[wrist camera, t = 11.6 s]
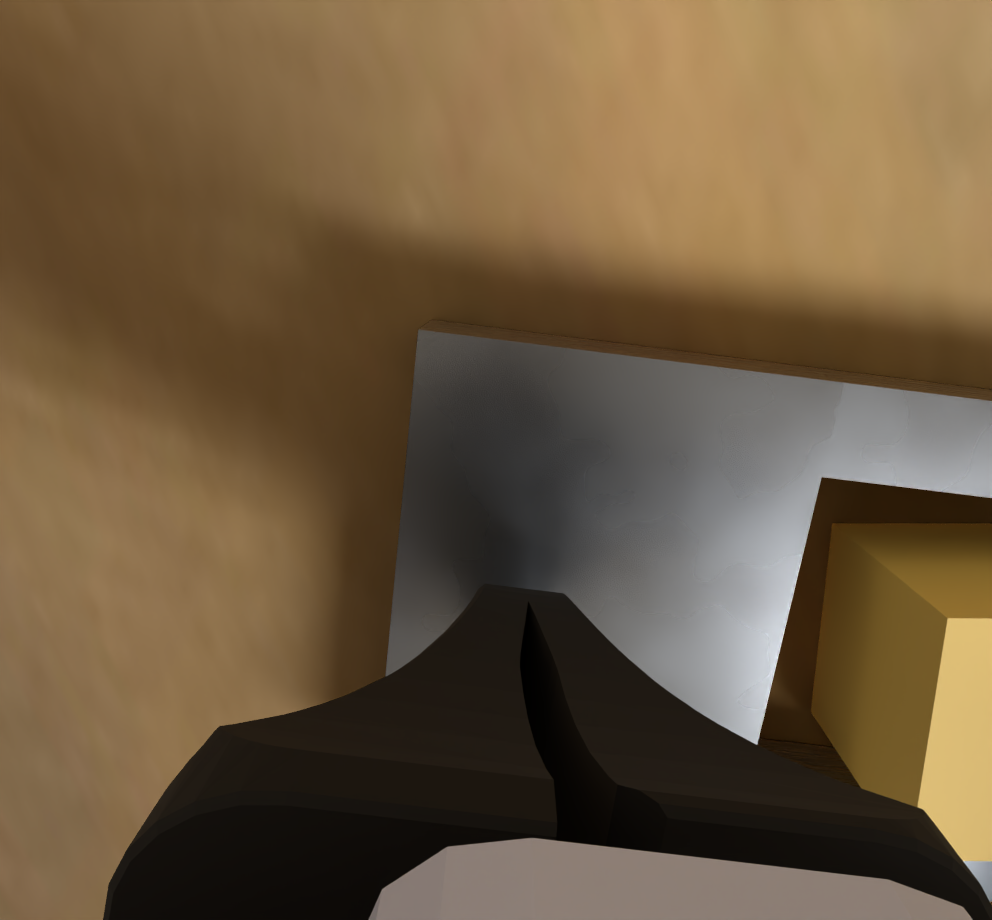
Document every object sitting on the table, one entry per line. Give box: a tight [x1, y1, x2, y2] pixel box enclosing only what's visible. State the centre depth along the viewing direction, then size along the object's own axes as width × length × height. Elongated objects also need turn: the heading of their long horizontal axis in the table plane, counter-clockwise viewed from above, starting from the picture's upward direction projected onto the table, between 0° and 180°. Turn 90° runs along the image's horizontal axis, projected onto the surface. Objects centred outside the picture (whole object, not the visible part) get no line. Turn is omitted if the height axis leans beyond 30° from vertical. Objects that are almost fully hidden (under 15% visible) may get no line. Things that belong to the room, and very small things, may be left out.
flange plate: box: [385, 320, 992, 901], centre depth 14 cm, size 14×9×2 cm, turn 83°
